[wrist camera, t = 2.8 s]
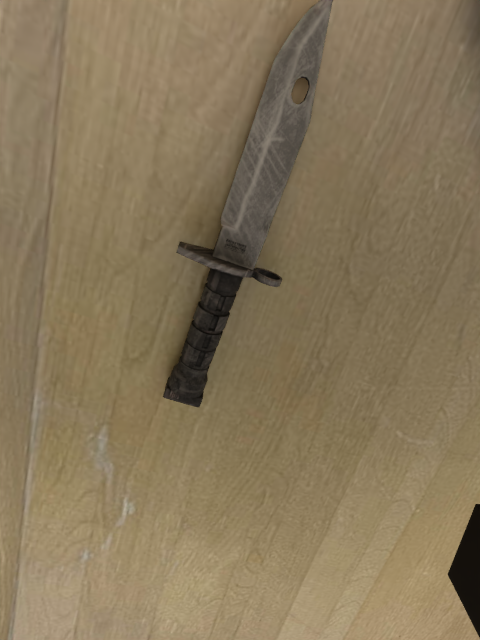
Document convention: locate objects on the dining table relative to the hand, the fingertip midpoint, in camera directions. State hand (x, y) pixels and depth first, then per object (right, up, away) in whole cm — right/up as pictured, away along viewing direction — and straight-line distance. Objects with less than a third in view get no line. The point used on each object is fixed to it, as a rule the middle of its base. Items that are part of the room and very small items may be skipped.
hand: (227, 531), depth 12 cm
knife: (0, +10, +9) cm, 13 cm away
